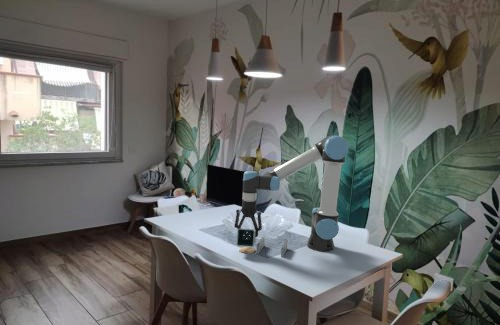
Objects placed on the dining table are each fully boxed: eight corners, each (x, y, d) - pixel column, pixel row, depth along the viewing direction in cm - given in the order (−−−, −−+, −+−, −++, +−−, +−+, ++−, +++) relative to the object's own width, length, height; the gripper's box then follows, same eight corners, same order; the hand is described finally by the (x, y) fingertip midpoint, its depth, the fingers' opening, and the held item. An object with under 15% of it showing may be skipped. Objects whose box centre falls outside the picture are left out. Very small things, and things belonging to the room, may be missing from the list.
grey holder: (287, 248, 201) (287, 240, 200) (283, 257, 187) (283, 248, 187) (262, 245, 204) (262, 237, 204) (256, 254, 191) (256, 244, 190)
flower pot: (254, 244, 195) (253, 246, 186) (238, 243, 196) (236, 245, 187) (255, 228, 195) (254, 229, 187) (239, 226, 196) (237, 228, 187)
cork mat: (257, 249, 199) (257, 248, 198) (253, 254, 190) (253, 253, 190) (241, 247, 201) (241, 246, 201) (236, 252, 192) (237, 251, 192)
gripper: (269, 200, 193) (267, 241, 196) (233, 196, 198) (231, 237, 201) (266, 203, 186) (264, 246, 189) (229, 199, 191) (227, 241, 194)
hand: (247, 241), depth 195 cm, fingers closed on flower pot, 7 cm apart
